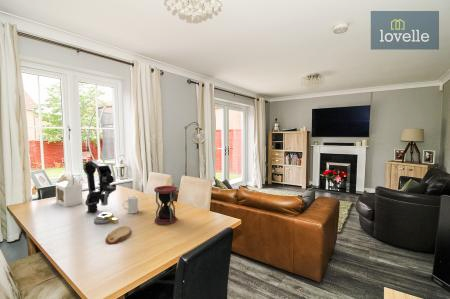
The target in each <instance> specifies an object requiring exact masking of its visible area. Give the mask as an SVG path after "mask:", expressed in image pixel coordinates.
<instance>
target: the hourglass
mask: <svg viewBox="0 0 450 299" xmlns="http://www.w3.org/2000/svg"><path fill="white" fill-rule="evenodd" d="M177 190H178V188H177V186H174V185H160V186H156V187H154V192H155V202H156V205H157V209H156V210H155V218H154V224H155V225H158V226H168V225H172V224H175V223H176V222H177V221H178V219H177V216H176V206H175V204H174V201H175V199H176V191H177ZM158 199H159V201H160V202H161V203H159V201H158ZM171 206H172V207H173V209H172V208H171ZM176 220H177V221H176Z"/></svg>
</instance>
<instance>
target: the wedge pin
mask: <svg viewBox="0 0 450 299" xmlns="http://www.w3.org/2000/svg"><path fill="white" fill-rule="evenodd" d="M103 193H104V194H105V195H104V202H103V203H102V202H101V201H100V202H101V203H100V204H101V206H104V207H105V206H107V205H108V204H109V203H108V202H109V200H108V199H109V197H108V198H107V194H108V192H103Z"/></svg>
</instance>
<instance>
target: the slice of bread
mask: <svg viewBox="0 0 450 299" xmlns="http://www.w3.org/2000/svg"><path fill="white" fill-rule="evenodd" d="M131 235H132V229H131V227H129V226H126V225H122V226H119V227H117V228H115V229H113V230H112V231H111V232H110V233H109V234H107V235H106V238H105V239H104V240H105V243H106V244H107V245H109V246H110V245H116V244H118V243H120V242H122V241H125V240H127V239H128V238H129V237H130V236H131Z"/></svg>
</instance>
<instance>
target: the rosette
mask: <svg viewBox="0 0 450 299" xmlns="http://www.w3.org/2000/svg"><path fill="white" fill-rule="evenodd" d="M113 214H114V213H111V212H101V213H98V214H97V215H95V216H94V219H93V223H94V224H95V225H106V224H116V223H119V219H118V217H117V218H116V217H115V215H113Z"/></svg>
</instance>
